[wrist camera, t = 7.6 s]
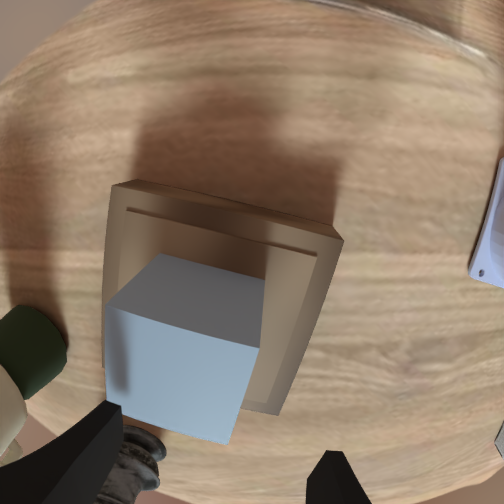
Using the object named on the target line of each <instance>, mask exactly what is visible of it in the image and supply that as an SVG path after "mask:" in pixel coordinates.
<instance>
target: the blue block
mask: <svg viewBox="0 0 504 504" xmlns="http://www.w3.org/2000/svg"><path fill="white" fill-rule="evenodd" d="M264 288H265V280H263V279H259V278H255V277H251V276H247V275H243V274H239V273H235V272H231V271H227V270H223V269H219V268H215V267H211V266H208V265H204V264H200V263H196V262H192V261H188V260H185V259H181V258H177V257H173V256H169V255H166V254H162V253H159V254H158V255H157V256H156V257H155V258H154V259H153V260H152V261H151V262H150V263H148V264H147V265H146V266H145V267H144V268H143V269H142V270H141V271H140V272H139V273H138V274H137V275H136V276H135V277H133V278H132V279H131V280H130V281H129V282H128V283H127V284H126V285H125V286H124V287H123V288H122V289H121V290H120V291H119V292H118V293H117V294H116V295H115V296H113V297H112V298H111V299H110V300H109V301H108V302H107V303H106V304H105V377H106V396H107V401H110V402H112V403H115V404H118V405H121V407H122V414H123V415H126V416H128V417H131V418H134V419H137V420H140V421H143V422H146V423H149V424H152V425H155V426H158V427H161V428H164V429H168V430H171V431H174V432H178V433H181V434H185V435H189V436H192V437H196V438H200V439H204V440H208V441H212V442H217V443H221V444H225V445H228V442H229V439H230V437H231V434H232V431H233V428H234V425H235V422H236V419H237V416H238V413H239V410H240V407H241V404H242V401H243V398H244V395H245V392H246V389H247V386H248V383H249V380H250V377H251V374H252V371H253V368H254V365H255V362H256V358H257V355H258V352H259V349H260V338H261V326H262V314H263V301H264Z"/></svg>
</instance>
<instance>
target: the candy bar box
mask: <svg viewBox="0 0 504 504" xmlns="http://www.w3.org/2000/svg"><path fill="white" fill-rule="evenodd" d="M494 444H495V446H496V447H497V449H498V451H499V453H500V455H501V456H502V458H503V460H504V421H503V423H502V426H501V429H500V431H499V433H498V435H497V437H496V440H495V442H494Z"/></svg>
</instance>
